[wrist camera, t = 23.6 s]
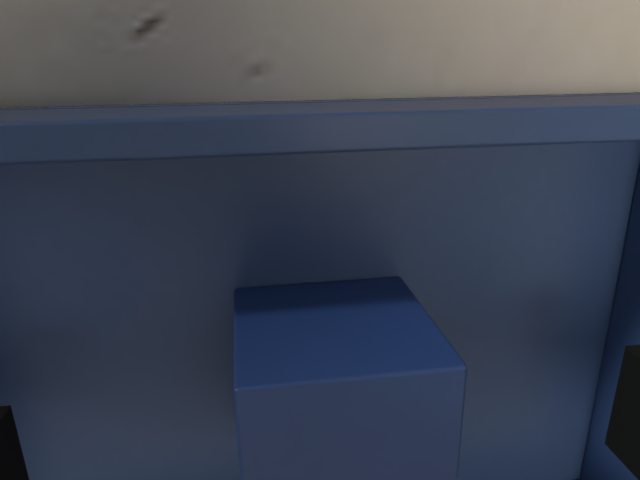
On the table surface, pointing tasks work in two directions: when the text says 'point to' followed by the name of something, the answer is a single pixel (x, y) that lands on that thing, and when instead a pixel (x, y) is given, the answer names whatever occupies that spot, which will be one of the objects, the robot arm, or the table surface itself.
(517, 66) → the table surface
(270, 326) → the blue block
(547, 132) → the blue tray
